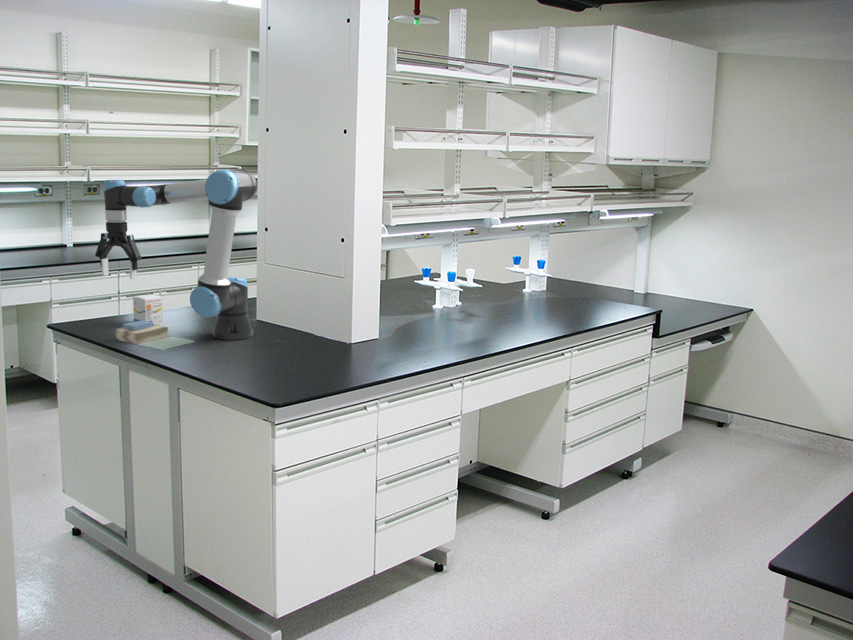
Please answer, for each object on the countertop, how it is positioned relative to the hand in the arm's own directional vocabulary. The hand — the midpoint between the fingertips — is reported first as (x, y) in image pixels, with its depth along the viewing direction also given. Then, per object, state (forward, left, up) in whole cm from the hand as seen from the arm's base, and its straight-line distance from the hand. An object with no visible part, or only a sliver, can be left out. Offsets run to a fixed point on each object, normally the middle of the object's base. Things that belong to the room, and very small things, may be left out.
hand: (119, 277), depth 309 cm
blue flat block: (-12, +2, -18) cm, 22 cm away
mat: (-27, +2, -22) cm, 35 cm away
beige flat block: (-14, +2, -22) cm, 26 cm away
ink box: (+3, -16, -22) cm, 27 cm away
